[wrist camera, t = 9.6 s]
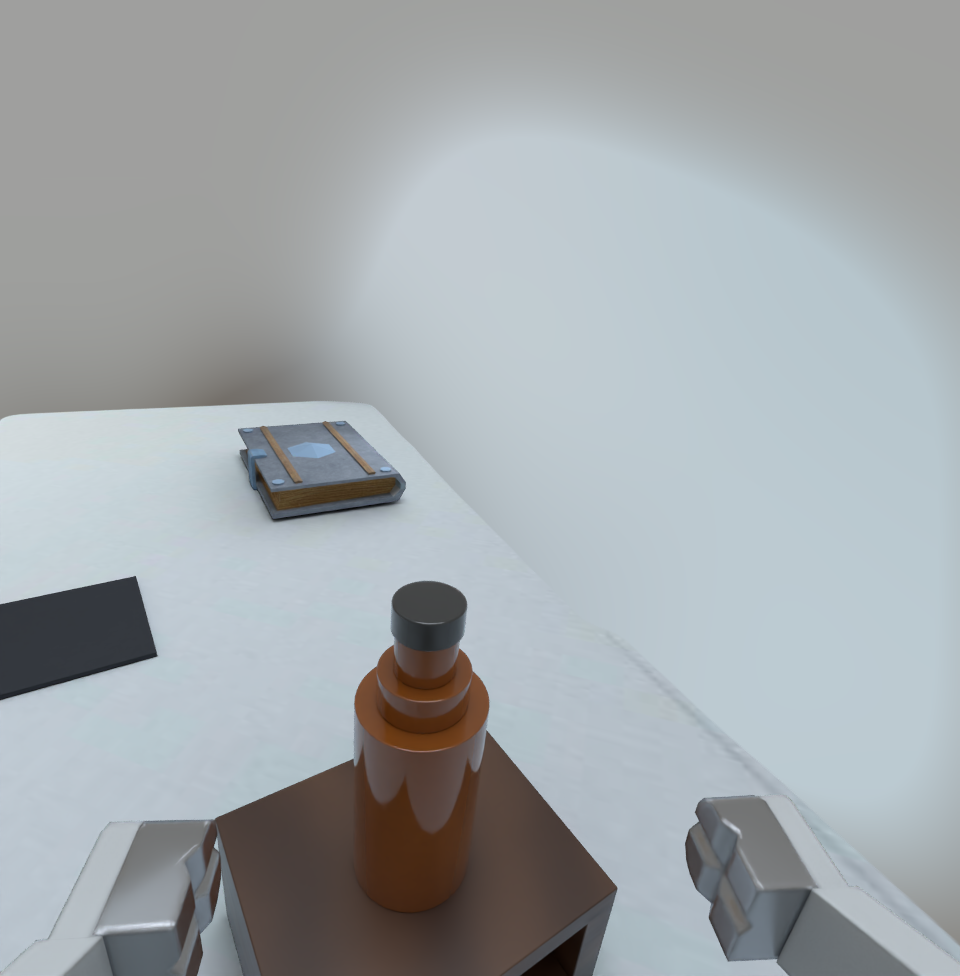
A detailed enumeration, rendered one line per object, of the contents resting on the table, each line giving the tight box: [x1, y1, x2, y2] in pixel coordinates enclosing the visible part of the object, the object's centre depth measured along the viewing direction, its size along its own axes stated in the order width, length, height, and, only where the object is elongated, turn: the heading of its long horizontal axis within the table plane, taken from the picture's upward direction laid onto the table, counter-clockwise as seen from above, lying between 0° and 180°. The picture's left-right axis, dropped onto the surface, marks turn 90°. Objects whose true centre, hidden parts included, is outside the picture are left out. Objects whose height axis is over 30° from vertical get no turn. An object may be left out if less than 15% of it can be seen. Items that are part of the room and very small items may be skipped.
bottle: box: [353, 581, 489, 913], centre depth 24 cm, size 5×5×14 cm
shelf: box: [215, 730, 617, 976], centre depth 28 cm, size 14×12×7 cm
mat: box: [0, 576, 157, 699], centre depth 47 cm, size 14×12×1 cm
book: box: [238, 421, 406, 519], centre depth 78 cm, size 21×16×5 cm
